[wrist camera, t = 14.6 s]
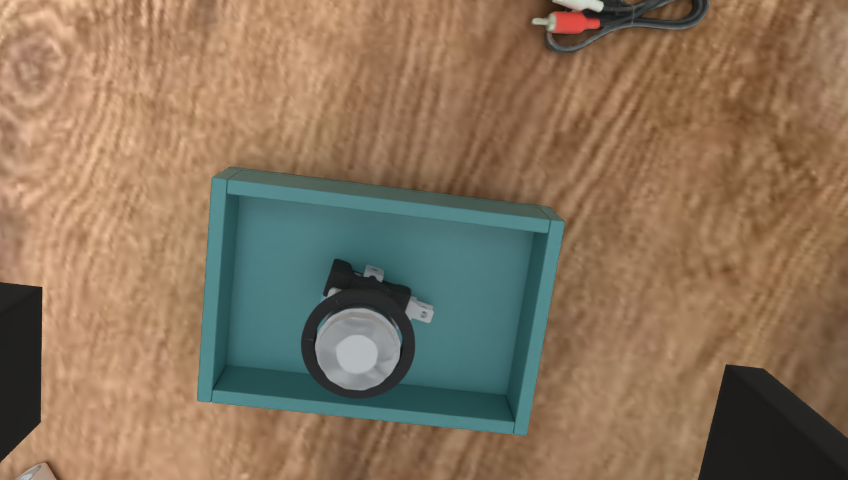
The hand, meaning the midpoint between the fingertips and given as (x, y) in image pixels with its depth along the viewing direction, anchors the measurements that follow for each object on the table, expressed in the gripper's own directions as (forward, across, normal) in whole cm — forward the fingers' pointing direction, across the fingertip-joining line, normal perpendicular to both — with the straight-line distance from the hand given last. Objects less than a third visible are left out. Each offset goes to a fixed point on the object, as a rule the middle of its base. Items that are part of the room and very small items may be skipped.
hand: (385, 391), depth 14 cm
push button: (+28, 0, -7) cm, 29 cm away
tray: (+29, 0, -7) cm, 29 cm away
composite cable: (+29, +11, +10) cm, 32 cm away
